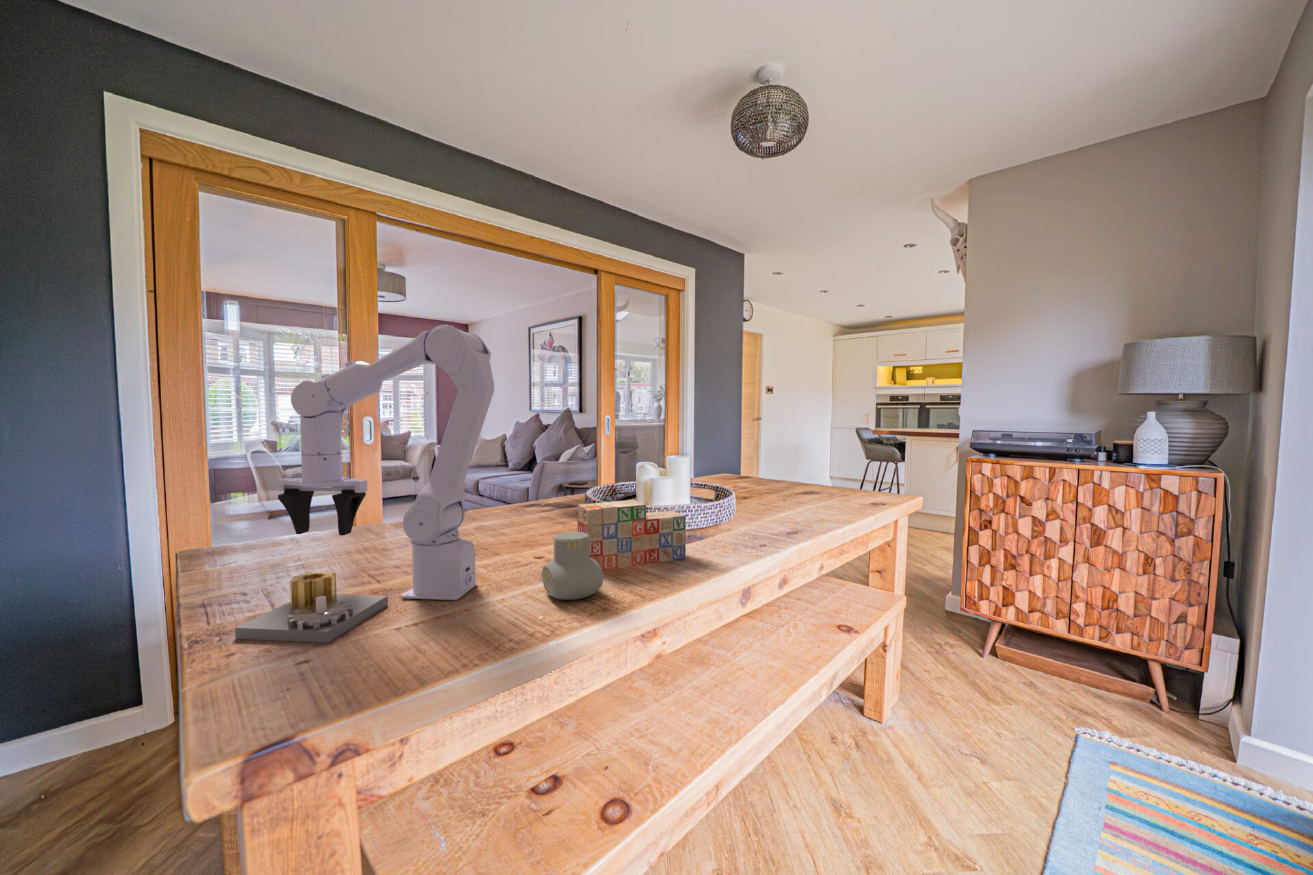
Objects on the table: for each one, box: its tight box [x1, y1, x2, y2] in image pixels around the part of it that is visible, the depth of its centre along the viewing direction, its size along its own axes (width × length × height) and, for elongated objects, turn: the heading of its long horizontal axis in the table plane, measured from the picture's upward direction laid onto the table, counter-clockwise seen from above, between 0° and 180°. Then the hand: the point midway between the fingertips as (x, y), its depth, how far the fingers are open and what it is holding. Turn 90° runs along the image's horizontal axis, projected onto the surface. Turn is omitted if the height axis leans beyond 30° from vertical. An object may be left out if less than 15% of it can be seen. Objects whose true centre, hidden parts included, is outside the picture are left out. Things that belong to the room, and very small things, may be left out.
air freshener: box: [541, 531, 604, 601], centre depth 85 cm, size 11×8×10 cm
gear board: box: [234, 593, 389, 644], centre depth 73 cm, size 13×13×4 cm
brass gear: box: [289, 570, 337, 610], centre depth 76 cm, size 6×6×4 cm
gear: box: [287, 601, 353, 631], centre depth 70 cm, size 8×8×1 cm
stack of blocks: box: [577, 499, 687, 571], centre depth 103 cm, size 21×6×12 cm, turn 115°
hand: (323, 533), depth 86 cm, fingers open, 7 cm apart
